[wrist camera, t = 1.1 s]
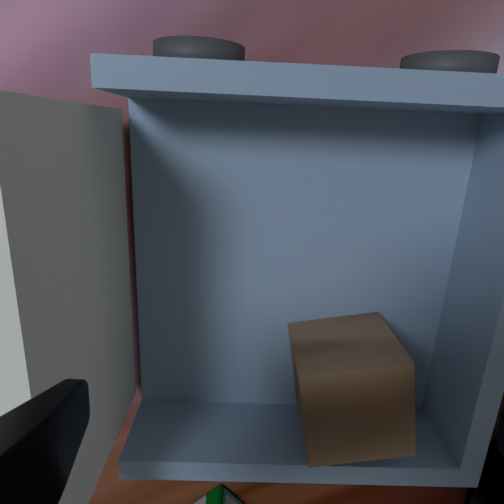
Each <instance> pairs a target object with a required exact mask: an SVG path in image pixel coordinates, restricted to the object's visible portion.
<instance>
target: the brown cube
mask: <svg viewBox="0 0 504 504" xmlns="http://www.w3.org/2000/svg"><path fill="white" fill-rule="evenodd" d="M288 332H289V341H290V349H291V358H292V367H293V375H294V384H295V392H296V400H297V406H298V411H299V417H300V422H301V428H302V433H303V439H304V444H305V449H306V455H307V460H308V466H309V468H311V467H320V466H329V465H337V464H346V463H355V462H364V461H373V460H382V459H391V458H399V457H408V456H415V363H414V362H413V360H412V359H411V357H410V356H409V355H408V353H407V352H406V351H405V349H404V348H403V346H402V345H401V344H400V342H399V341H398V339H397V338H396V337H395V335H394V334H393V332H392V331H391V330H390V328H389V327H388V325H387V324H386V323H385V321H384V320H383V318H382V317H381V316H380V314H379V313H378V312H372V313H364V314H356V315H348V316H339V317H331V318H323V319H315V320H307V321H299V322H291V323H288Z"/></svg>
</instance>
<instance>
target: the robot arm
mask: <svg viewBox="0 0 504 504" xmlns="http://www.w3.org/2000/svg"><path fill="white" fill-rule="evenodd" d="M89 418H90V402H89V386H88V383H87V381H86V380H85V379H70V378H68V379H65V380H63V381H61V382H59V383H58V384H56V385H54V386H52V387H51V388H49V389H47V390H45V391H44V392H42V393H40V394H38V395H37V396H35V397H33V398H31V399H30V400H28V401H26V402H24V403H23V404H21V405H19V406H17V407H16V408H14V409H12V410H10V411H9V412H7V413H5V414H3V415H2V416H0V504H58V503H59V501H60V499H61V497H62V494H63V492H64V489H65V486H66V484H67V481H68V478H69V476H70V473H71V470H72V467H73V465H74V462H75V459H76V456H77V454H78V451H79V448H80V445H81V442H82V440H83V437H84V434H85V431H86V429H87V426H88V423H89ZM495 436H496V442H490V443H489V447H488V451H487V454H486V458H485V462H484V465H483V469H482V473H481V476H480V480H479V483H478V487H477V488H475V487H469V491H468V494H467V498H466V502H465V504H504V406H503V409H502V412H501V416H500V419H499V422H498V425H497V429H496V434H495Z"/></svg>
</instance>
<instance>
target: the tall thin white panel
mask: <svg viewBox="0 0 504 504" xmlns="http://www.w3.org/2000/svg"><path fill="white" fill-rule="evenodd" d="M68 378H70V379H85V380H86V381H87V383H88V386H89V402H90V418H89V423H88V426H87V429H86V431H85V434H84V437H83V440H82V442H81V445H80V448H79V451H78V454H77V456H76V459H75V462H74V465H73V467H72V470H71V473H70V476H69V478H68V481H67V484H66V486H65V489H64V492H63V494H62V497H61V499H60V501H59V503H58V504H89V501H90V499H91V497H92V494H93V492H94V490H95V487H96V485H97V483H98V480H99V478H100V475H101V473H102V471H103V468H104V466H105V464H106V461H107V459H108V457H109V454H110V452H111V450H112V447H113V445H114V442H115V440H116V438H117V435H118V433H119V431H120V428H121V426H122V424H123V421H124V419H125V417H126V414H127V412H128V409H129V407H130V405H131V402H132V400H133V398H134V395H135V393H136V383H135V364H134V344H133V324H132V305H131V285H130V266H129V246H128V226H127V207H126V187H125V167H124V148H123V128H122V110H121V109H114V108H108V107H102V106H95V105H89V104H83V103H77V102H70V101H64V100H58V99H51V98H45V97H39V96H33V95H26V94H20V93H14V92H7V91H1V90H0V416H2V415H3V414H5V413H7V412H9V411H10V410H12V409H14V408H16V407H17V406H19V405H21V404H23V403H24V402H26V401H28V400H30V399H31V398H33V397H35V396H37V395H38V394H40V393H42V392H44V391H45V390H47V389H49V388H51V387H52V386H54V385H56V384H58V383H59V382H61V381H63V380H65V379H68Z"/></svg>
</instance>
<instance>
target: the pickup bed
mask: <svg viewBox="0 0 504 504" xmlns="http://www.w3.org/2000/svg"><path fill="white" fill-rule="evenodd" d="M244 59H245V48H244V47H243V46H242V45H240V44H238V43H235V42H231V41H227V40H223V39H217V38H210V37H200V36H168V37H161V38H157V39H155V40H154V41H153V56H138V55H119V54H99V53H90V65H91V79H92V88H96V89H100V90H103V91H107V92H111V93H114V94H118V95H122V96H125V97H128V105H129V127H130V149H131V170H132V192H133V214H134V236H135V258H136V279H137V301H138V323H139V345H140V367H141V388H142V401H141V404H140V407H139V409H138V412H137V414H136V417H135V419H134V422H133V425H132V427H131V430H130V432H129V435H128V437H127V440H126V443H125V445H124V448H123V450H122V453H121V455H120V458H119V475H120V479H150V480H191V481H231V482H272V483H313V484H353V485H394V486H435V487H475V488H477V487H478V483H479V480H480V476H481V473H482V469H483V465H484V462H485V458H486V454H487V451H488V447H489V443H490V440H491V436H492V432H493V429H494V425H495V422H496V418H497V414H498V411H499V407H500V403H501V400H502V396H503V392H504V74H496V73H497V69H498V64H499V59H500V56H499V55H497V54H495V53H491V52H484V51H472V50H446V51H431V52H423V53H416V54H411V55H408V56H405V57H403V58H402V59H401V63H400V69H396V68H377V67H357V66H337V65H317V64H297V63H277V62H258V61H244ZM372 312H378V313H379V314H380V316H381V317H382V318H383V320H384V321H385V323H386V324H387V325H388V327H389V328H390V330H391V331H392V332H393V334H394V335H395V337H396V338H397V339H398V341H399V342H400V344H401V345H402V346H403V348H404V349H405V351H406V352H407V353H408V355H409V356H410V357H411V359H412V360H413V362H414V363H415V456H408V457H399V458H391V459H382V460H373V461H364V462H355V463H346V464H337V465H329V466H320V467H311V468H309V466H308V460H307V455H306V449H305V444H304V439H303V433H302V428H301V422H300V417H299V411H298V406H297V400H296V392H295V384H294V375H293V367H292V358H291V349H290V341H289V332H288V323H291V322H299V321H307V320H315V319H323V318H331V317H339V316H348V315H356V314H364V313H372Z"/></svg>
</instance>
